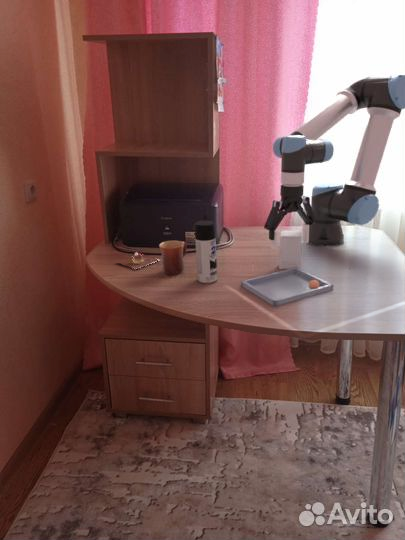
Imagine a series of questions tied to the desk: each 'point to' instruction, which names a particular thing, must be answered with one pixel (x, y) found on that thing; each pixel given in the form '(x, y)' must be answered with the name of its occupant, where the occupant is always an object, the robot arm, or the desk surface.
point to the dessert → (139, 259)
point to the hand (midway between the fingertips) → (289, 245)
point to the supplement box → (290, 249)
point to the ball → (313, 284)
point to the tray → (285, 286)
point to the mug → (173, 256)
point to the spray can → (206, 251)
